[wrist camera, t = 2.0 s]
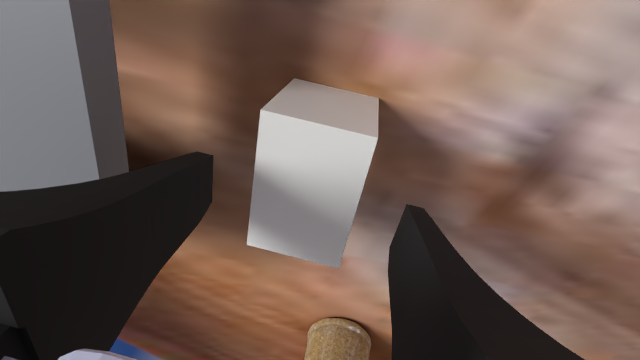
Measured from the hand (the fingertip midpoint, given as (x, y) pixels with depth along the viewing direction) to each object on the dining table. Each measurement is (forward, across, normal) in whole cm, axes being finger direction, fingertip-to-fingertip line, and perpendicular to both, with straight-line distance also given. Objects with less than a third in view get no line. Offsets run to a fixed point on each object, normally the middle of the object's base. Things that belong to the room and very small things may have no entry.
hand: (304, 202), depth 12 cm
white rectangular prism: (+5, 0, 0) cm, 5 cm away
